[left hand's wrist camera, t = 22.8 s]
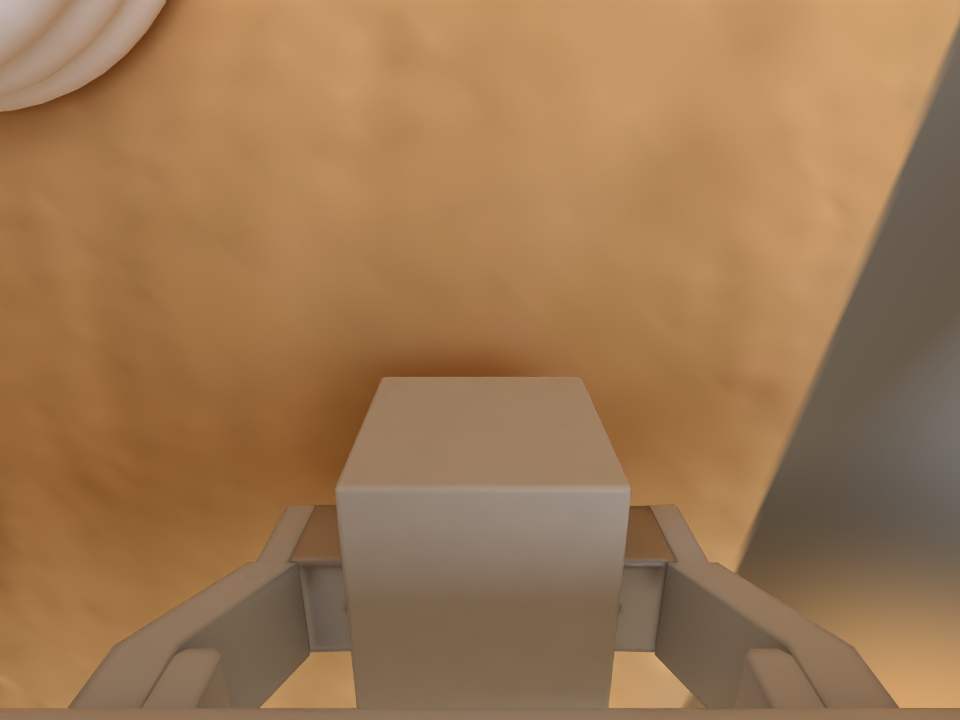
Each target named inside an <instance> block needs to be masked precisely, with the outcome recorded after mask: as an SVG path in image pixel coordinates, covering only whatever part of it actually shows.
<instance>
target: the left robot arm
mask: <svg viewBox="0 0 960 720" xmlns="http://www.w3.org/2000/svg"><path fill="white" fill-rule="evenodd" d="M334 651H351V645H350V636H349V626H348V616H347V606H346V597H345V587H344V577H343V568H342V558H341V548H340V538H339V529H338V519H337V509H336V505H318V506H316V505H290V506H288V507H287V508H286V509H285V510H284V512H283V514H282V516H281V518H280V520H279V521H278V523H277V525H276V527H275V529H274V530H273V532H272V534H271V536H270V538H269V540H268V541H267V543H266V545H265V547H264V549H263V551H262V552H261V554H260V556H259V558H258V560H257V561H256V563H246V564H245V565H243V566H241V567H240V568H238V569H237V570H235V571H233V572H232V573H230V574H229V575H227V576H225V577H224V578H222V579H221V580H219V581H217V582H216V583H214V584H212V585H211V586H209V587H208V588H206V589H204V590H203V591H201V592H200V593H198V594H196V595H195V596H193V597H192V598H190V599H188V600H187V601H185V602H184V603H182V604H180V605H179V606H177V607H175V608H174V609H172V610H171V611H169V612H167V613H166V614H164V615H163V616H161V617H159V618H158V619H156V620H155V621H153V622H151V623H150V624H148V625H147V626H145V627H143V628H142V629H140V630H139V631H137V632H135V633H134V634H132V635H130V636H129V637H127V638H126V639H124V640H122V641H121V642H119V643H118V644H116V645H114V646H113V648H112V649H111V650H110V652H109V653H108V654H107V656H106V657H105V658H104V660H103V661H102V662H101V664H100V665H99V666H98V668H97V669H96V670H95V672H94V673H93V674H92V676H91V677H90V679H89V680H88V681H87V683H86V684H85V685H84V687H83V688H82V689H81V691H80V692H79V693H78V695H77V696H76V697H75V699H74V700H73V701H72V703H71V704H70V705H69V707H68V708H0V720H960V708H899V707H898V705H897V704H896V703H895V701H894V700H893V699H892V697H891V696H890V695H889V693H888V692H887V691H886V689H885V688H884V687H883V685H882V684H881V683H880V681H879V680H878V679H877V677H876V676H875V675H874V673H873V672H872V671H871V669H870V668H869V667H868V665H867V664H866V663H865V661H864V660H863V659H862V657H861V656H860V655H859V653H858V652H857V651H856V649H855V648H854V647H853V646H851V645H850V644H848V643H846V642H845V641H843V640H842V639H840V638H838V637H837V636H835V635H834V634H832V633H830V632H829V631H827V630H826V629H824V628H822V627H821V626H819V625H817V624H816V623H814V622H813V621H811V620H809V619H808V618H806V617H805V616H803V615H801V614H800V613H798V612H796V611H795V610H793V609H792V608H790V607H788V606H787V605H785V604H784V603H782V602H780V601H779V600H777V599H775V598H774V597H772V596H771V595H769V594H767V593H766V592H764V591H763V590H761V589H759V588H758V587H756V586H754V585H753V584H751V583H750V582H748V581H746V580H745V579H743V578H741V577H740V576H738V575H737V574H735V573H733V572H732V571H730V570H729V569H727V568H725V567H724V566H722V565H721V564H719V563H709V561H708V560H707V558H706V556H705V554H704V553H703V551H702V549H701V547H700V545H699V544H698V542H697V540H696V538H695V537H694V535H693V533H692V531H691V530H690V528H689V526H688V524H687V523H686V521H685V519H684V517H683V516H682V514H681V512H680V510H679V508H678V507H677V506H675V505H647V506H630V508H629V517H628V527H627V536H626V546H625V555H624V564H623V574H622V583H621V593H620V602H619V612H618V621H617V631H616V640H615V650H614V651H630V652H655V655H656V656H657V657H658V658H659V659H660V660H661V661H662V662H663V664H664V665H665V666H666V667H667V668H668V669H669V670H670V671H671V672H672V673H673V674H674V675H675V676H676V677H677V678H678V679H679V680H680V681H681V682H682V683H683V684H684V685H685V686H686V687H687V689H688V690H689V691H690V692H691V693H692V694H693V695H694V696H695V697H696V698H697V699H698V700H699V701H700V702H701V703H702V704H703V705H704V706H705V707H706V708H260V707H261V706H262V705H263V704H264V703H265V701H266V700H267V699H268V698H269V697H270V696H271V695H272V694H273V693H274V692H275V691H276V690H277V689H278V688H279V687H280V686H281V685H282V684H283V683H284V682H285V680H286V679H287V678H288V677H289V676H290V675H291V674H292V673H293V672H294V671H295V670H296V669H297V668H298V667H299V666H300V665H301V664H302V663H303V662H304V661H305V660H306V658H307V657H308V656H309V655H310V654H309V652H334Z"/></svg>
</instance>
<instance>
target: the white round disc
mask: <svg viewBox="0 0 960 720" xmlns="http://www.w3.org/2000/svg"><path fill="white" fill-rule="evenodd" d="M166 1H167V0H0V112H1V111H13V110H17V109H21V108H26V107H30V106H34V105H39V104H43V103H45V102H48V101H50V100H53V99H55V98H58V97H60V96H62V95H65V94H67V93H70V92H72V91H75V90H77V89H79V88H81V87H82V86H84V85H86V84H87V83H89V82H91V81H92V80H94V79H96V78H97V77H99V76H100V75H102V74H104V73H105V72H106V71H107V70H109V69H110V68H111V67H112V66H113V65H114V64H116V63H117V62H118V61H119V60H120V59H122V58H123V57H124V56H125V55H126V54H127V53H128V52H129V51H130V50H131V49H132V48H133V47H134V45H135V44H136V43H137V42H138V41H139V40H140V39H141V37H142V36H143V35H144V34H145V33H146V32H147V31H148V29H149V28H150V26H151V25H152V23H153V22H154V20H155V18H156V17H157V15H158V14H159V12H160V11H161V9H162V8H163V6H164V5H165V3H166Z"/></svg>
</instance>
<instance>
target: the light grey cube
mask: <svg viewBox="0 0 960 720" xmlns="http://www.w3.org/2000/svg"><path fill="white" fill-rule="evenodd" d="M630 498H631V487H630V485H629V483H628V480H627V478H626V476H625V474H624V472H623V469H622V467H621V465H620V463H619V460H618V458H617V456H616V454H615V451H614V449H613V447H612V445H611V443H610V440H609V438H608V436H607V434H606V431H605V429H604V427H603V425H602V422H601V420H600V418H599V416H598V414H597V411H596V409H595V407H594V405H593V402H592V400H591V398H590V396H589V394H588V391H587V389H586V387H585V385H584V382H583V380H582V378H580V377H384V378H382V379H381V381H380V384H379V386H378V388H377V391H376V393H375V396H374V398H373V400H372V403H371V405H370V407H369V410H368V412H367V414H366V417H365V419H364V421H363V424H362V426H361V429H360V431H359V433H358V436H357V438H356V440H355V443H354V445H353V447H352V450H351V452H350V455H349V457H348V459H347V462H346V464H345V466H344V469H343V471H342V473H341V476H340V478H339V480H338V483H337V485H336V488H335V499H336V509H337V519H338V529H339V538H340V548H341V558H342V568H343V577H344V587H345V597H346V606H347V616H348V626H349V636H350V645H351V655H352V665H353V675H354V684H355V694H356V704H357V708H608V706H609V697H610V688H611V678H612V669H613V659H614V650H615V640H616V631H617V621H618V612H619V602H620V593H621V583H622V574H623V564H624V555H625V546H626V536H627V527H628V517H629V508H630Z"/></svg>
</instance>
